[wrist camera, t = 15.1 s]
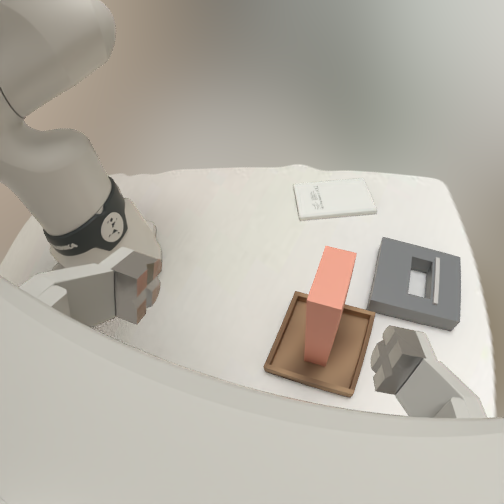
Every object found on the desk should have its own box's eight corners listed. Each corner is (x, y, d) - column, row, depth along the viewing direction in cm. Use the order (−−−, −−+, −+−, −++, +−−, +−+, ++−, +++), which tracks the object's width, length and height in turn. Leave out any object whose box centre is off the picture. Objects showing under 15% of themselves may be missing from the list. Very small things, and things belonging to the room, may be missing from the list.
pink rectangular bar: (304, 360, 31) (306, 300, 20) (317, 321, 33) (325, 245, 22) (325, 366, 30) (341, 309, 19) (338, 327, 32) (356, 253, 22)
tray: (265, 371, 31) (263, 366, 30) (295, 298, 36) (295, 291, 35) (350, 397, 28) (353, 394, 26) (372, 319, 33) (375, 312, 31)
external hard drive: (376, 216, 44) (299, 223, 45) (362, 184, 49) (293, 189, 50) (377, 209, 42) (299, 216, 44) (363, 177, 47) (293, 182, 49)
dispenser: (366, 310, 34) (371, 298, 31) (379, 248, 39) (383, 234, 37) (451, 330, 30) (461, 320, 27) (453, 268, 35) (461, 255, 32)
